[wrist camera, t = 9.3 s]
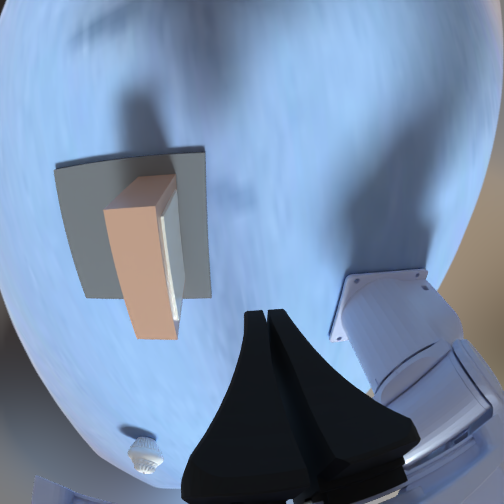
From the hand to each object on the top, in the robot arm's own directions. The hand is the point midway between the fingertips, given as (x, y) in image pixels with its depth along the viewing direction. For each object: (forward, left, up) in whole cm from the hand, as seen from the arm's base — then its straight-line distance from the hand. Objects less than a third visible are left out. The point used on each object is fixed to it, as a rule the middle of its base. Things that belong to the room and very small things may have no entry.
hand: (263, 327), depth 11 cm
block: (+6, 0, -9) cm, 11 cm away
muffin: (+17, +38, -10) cm, 43 cm away
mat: (+8, 0, -9) cm, 12 cm away
